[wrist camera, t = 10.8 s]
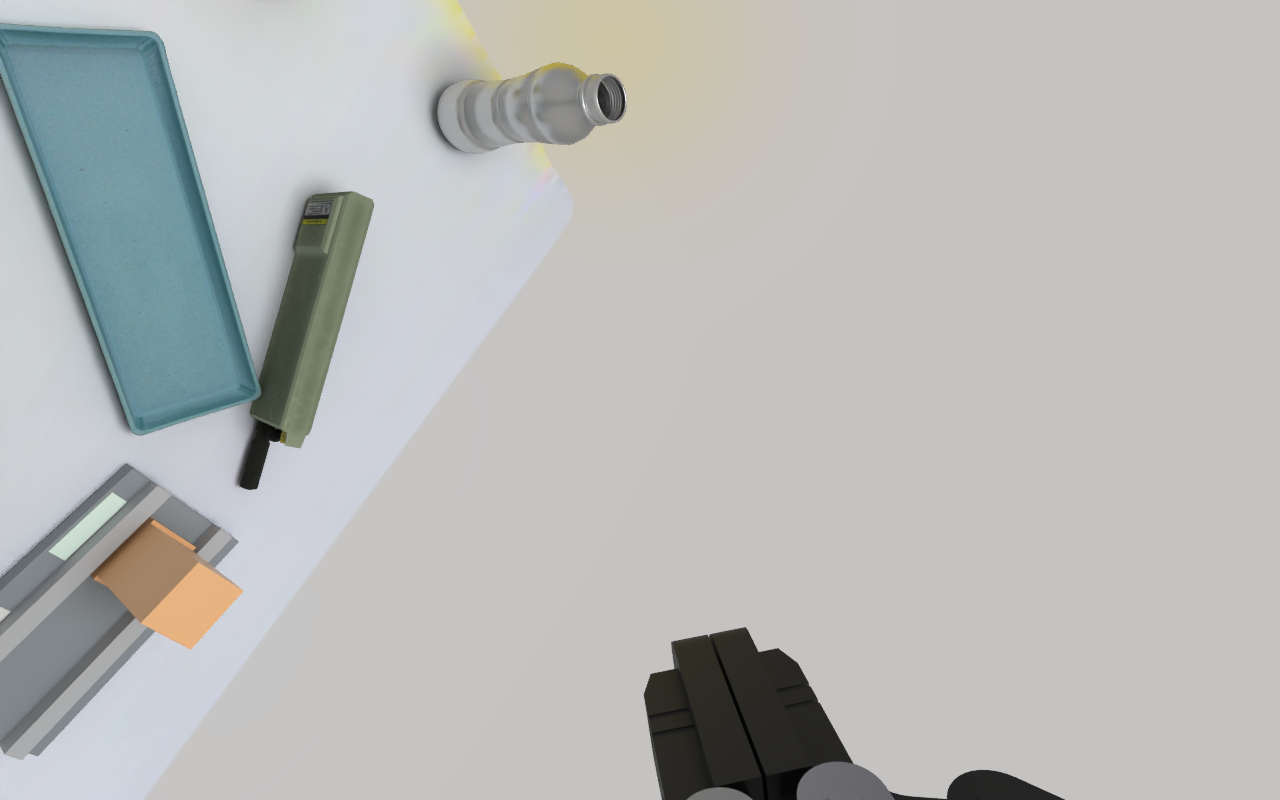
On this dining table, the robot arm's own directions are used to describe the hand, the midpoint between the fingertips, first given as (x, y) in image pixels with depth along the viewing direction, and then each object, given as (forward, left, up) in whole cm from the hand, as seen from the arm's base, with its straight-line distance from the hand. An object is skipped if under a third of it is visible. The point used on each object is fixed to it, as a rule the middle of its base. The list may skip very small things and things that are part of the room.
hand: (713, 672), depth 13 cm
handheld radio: (+14, +5, -53) cm, 55 cm away
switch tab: (+8, -13, -51) cm, 53 cm away
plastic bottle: (+24, +30, -53) cm, 65 cm away
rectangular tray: (+3, +9, -53) cm, 54 cm away
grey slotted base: (+6, -17, -52) cm, 56 cm away
